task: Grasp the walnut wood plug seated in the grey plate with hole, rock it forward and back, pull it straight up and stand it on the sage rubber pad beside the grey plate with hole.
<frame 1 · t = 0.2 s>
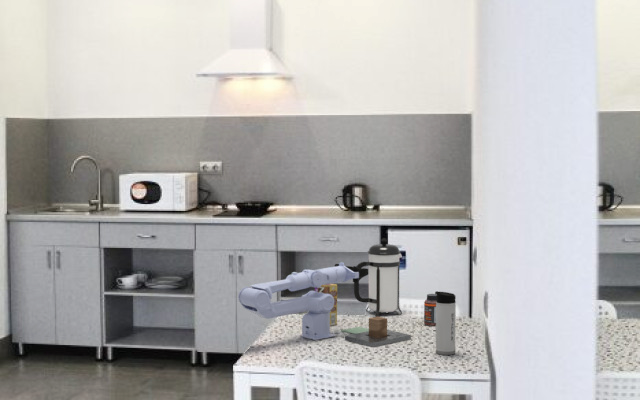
hand: (360, 270, 329), 21 cm above the table, tool horizontal, fingers open, 7 cm apart
coffee press: (381, 314, 358), on the table
plug: (377, 329, 312), in the grey plate with hole
travel mug: (444, 353, 293), on the table
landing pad: (358, 331, 326), on the table
candy box: (325, 324, 340), on the table
grey plate with hole: (377, 339, 313), on the table
supplement bottle: (431, 325, 338), on the table
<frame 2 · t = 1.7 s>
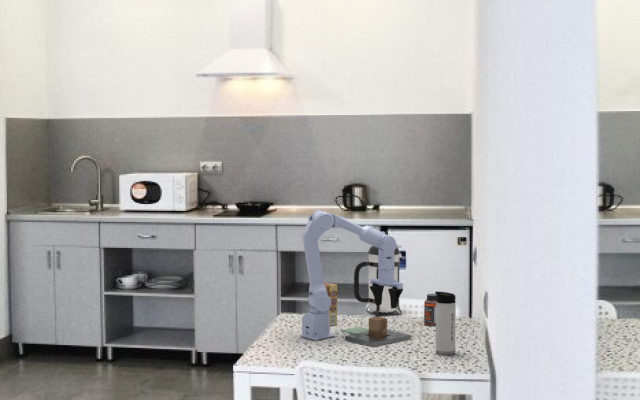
hand: (386, 306, 323), 9 cm above the table, tool pointing down, fingers open, 7 cm apart
nothing on the table moved.
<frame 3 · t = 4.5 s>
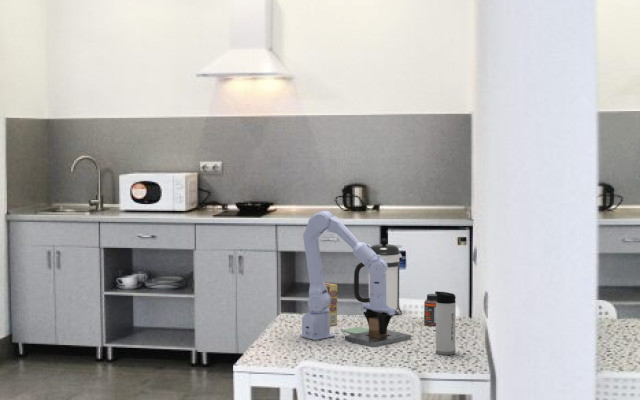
hand: (377, 332, 313), 2 cm above the table, tool pointing down, fingers closed on plug, 4 cm apart
plug: (377, 329, 312), in the grey plate with hole, touching gripper
everything else where it was.
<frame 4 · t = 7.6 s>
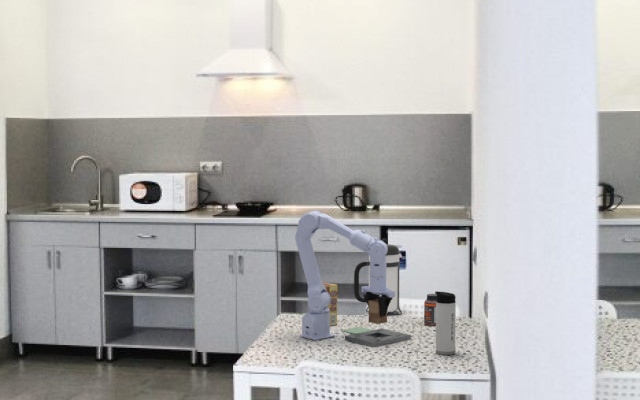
hand: (377, 315, 312), 8 cm above the table, tool pointing down, fingers closed on plug, 4 cm apart
plug: (377, 311, 312), point 10 cm above the table, touching gripper
everything else where it was.
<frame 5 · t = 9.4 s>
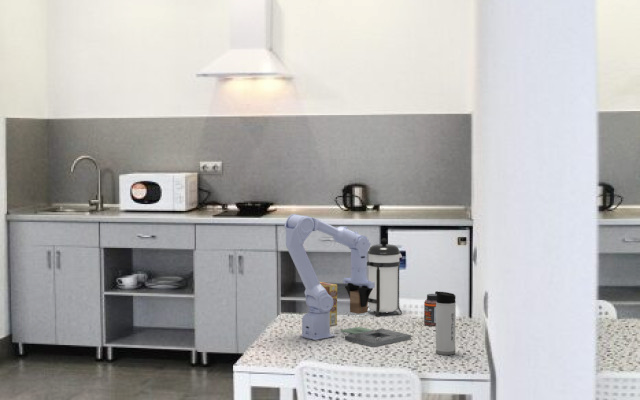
hand: (358, 305, 325), 9 cm above the table, tool pointing down, fingers closed on plug, 4 cm apart
plug: (358, 301, 325), point 11 cm above the table, touching gripper
everything else where it was.
when the fingers open (4 cm above the table, at t = 10.9 s): plug drops 1 cm, resting on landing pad.
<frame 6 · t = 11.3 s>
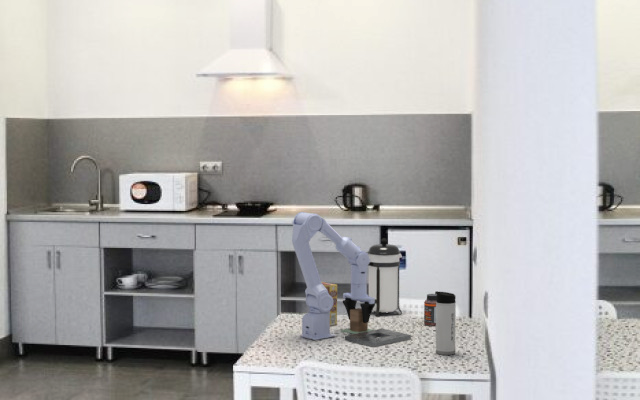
hand: (358, 321, 326), 4 cm above the table, tool pointing down, fingers open, 7 cm apart
plug: (358, 320, 326), on the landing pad
everything else where it was.
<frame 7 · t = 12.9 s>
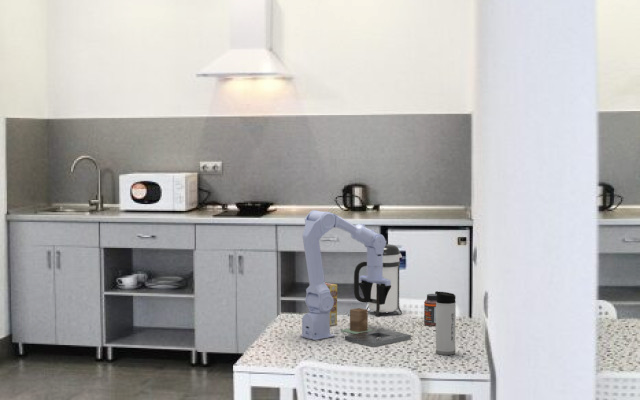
hand: (374, 302, 330), 9 cm above the table, tool pointing down, fingers open, 7 cm apart
nothing on the table moved.
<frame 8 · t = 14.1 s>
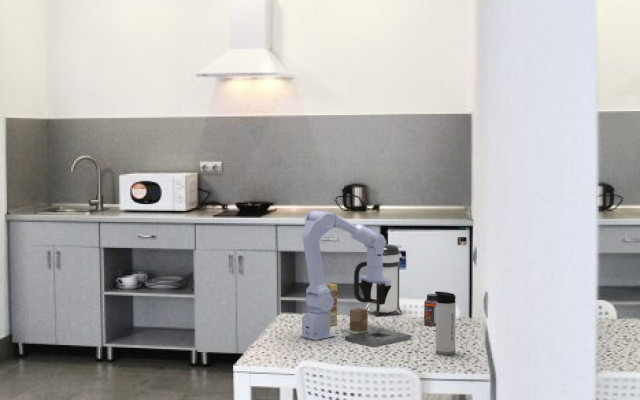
hand: (374, 302, 330), 9 cm above the table, tool pointing down, fingers open, 7 cm apart
nothing on the table moved.
at the end: plug 0.0 cm off-centre on the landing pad, point 4.1 cm above the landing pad's base; plug tilted 0°; the gripper is holding nothing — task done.
